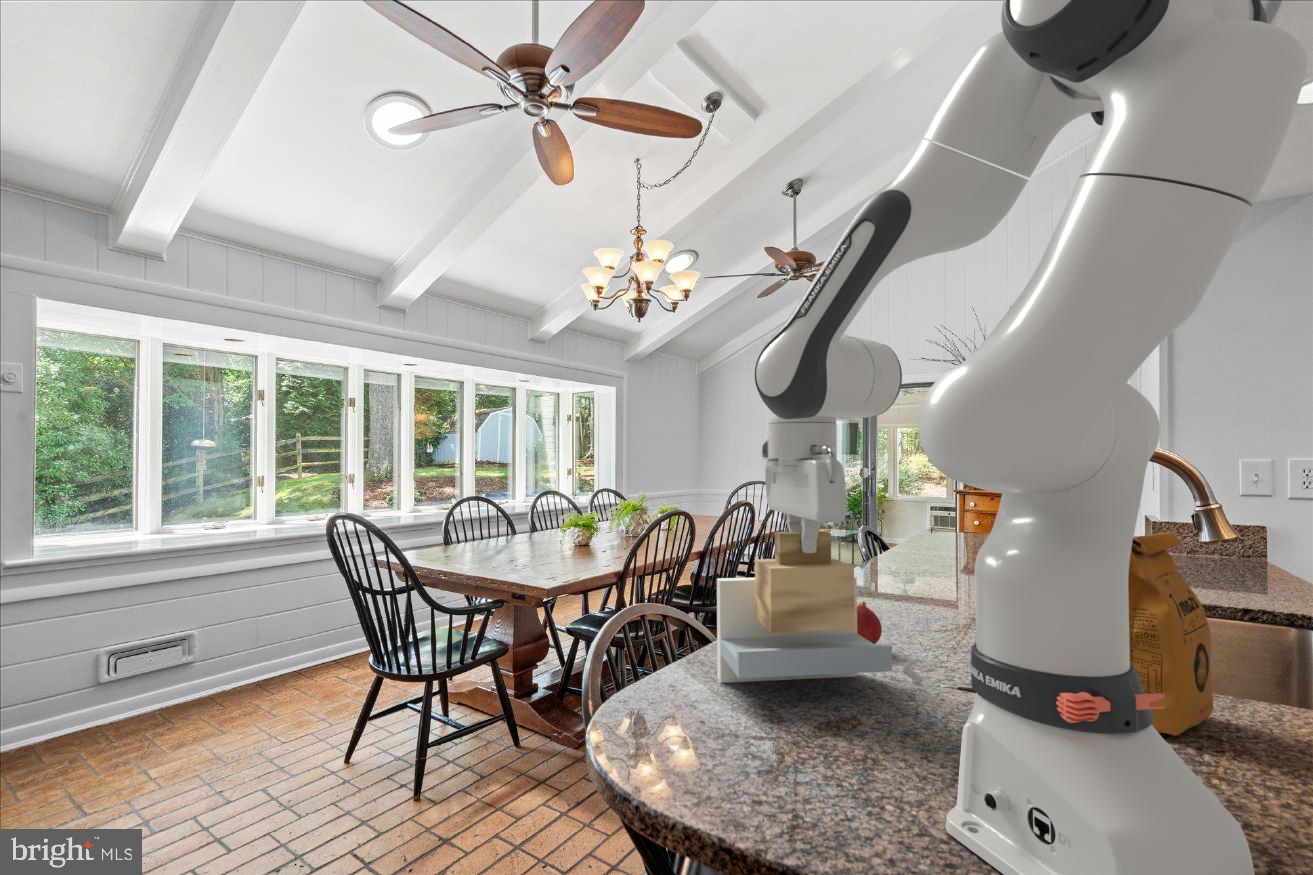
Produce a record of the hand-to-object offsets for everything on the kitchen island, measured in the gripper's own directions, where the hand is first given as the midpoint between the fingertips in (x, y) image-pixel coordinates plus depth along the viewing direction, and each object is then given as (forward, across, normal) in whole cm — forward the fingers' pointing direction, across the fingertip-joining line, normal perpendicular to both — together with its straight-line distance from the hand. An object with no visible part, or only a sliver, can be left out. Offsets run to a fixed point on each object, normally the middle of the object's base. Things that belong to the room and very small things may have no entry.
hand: (803, 550), depth 83 cm
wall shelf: (+19, +2, 0) cm, 19 cm away
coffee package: (+19, -13, -38) cm, 45 cm away
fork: (+19, -1, -22) cm, 30 cm away
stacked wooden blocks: (+10, 0, 0) cm, 10 cm away
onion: (+19, +17, -16) cm, 30 cm away
